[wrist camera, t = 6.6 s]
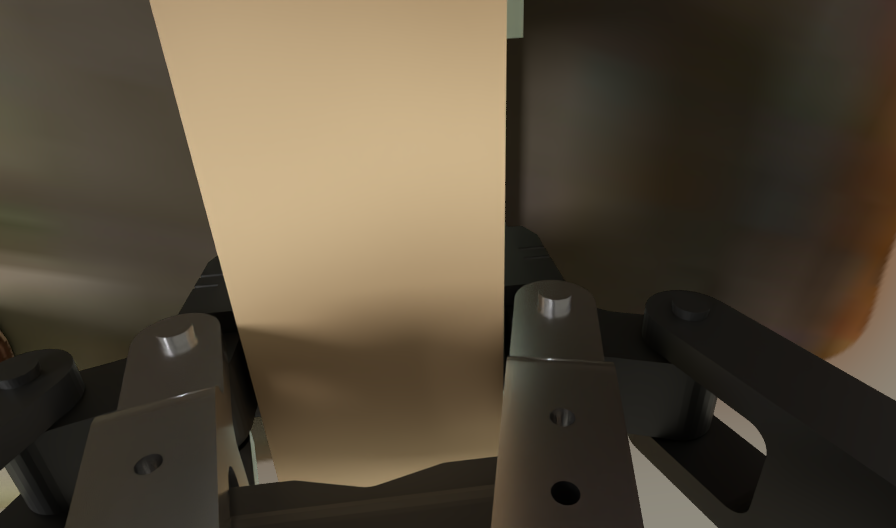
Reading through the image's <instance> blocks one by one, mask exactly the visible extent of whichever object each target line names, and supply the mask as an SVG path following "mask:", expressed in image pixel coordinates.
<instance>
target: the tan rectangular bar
mask: <svg viewBox="0 0 896 528" xmlns="http://www.w3.org/2000/svg"><path fill="white" fill-rule="evenodd" d="M150 4H151V8H152V11H153V15H154V19H155V23H156V26H157V30H158V34H159V38H160V41H161V45H162V49H163V52H164V56H165V60H166V64H167V67H168V71H169V75H170V79H171V82H172V86H173V90H174V93H175V97H176V101H177V105H178V108H179V112H180V116H181V119H182V123H183V127H184V131H185V134H186V138H187V142H188V146H189V149H190V153H191V157H192V160H193V164H194V168H195V172H196V175H197V179H198V183H199V186H200V190H201V194H202V198H203V201H204V205H205V209H206V213H207V216H208V220H209V224H210V227H211V231H212V235H213V239H214V242H215V246H216V250H217V254H218V257H219V261H220V265H221V268H222V272H223V276H224V280H225V283H226V287H227V291H228V294H229V298H230V302H231V306H232V309H233V313H234V317H235V321H236V324H237V328H238V332H239V335H240V339H241V343H242V347H243V350H244V354H245V358H246V361H247V365H248V369H249V373H250V376H251V380H252V384H253V388H254V391H255V395H256V399H257V402H258V406H259V410H260V414H261V417H262V421H263V425H264V429H265V432H266V436H267V440H268V443H269V447H270V451H271V455H272V458H273V462H274V466H275V469H276V473H277V477H278V481H279V482H284V481H292V480H297V481H307V482H317V483H327V484H337V485H347V486H357V487H371V486H376V485H379V484H382V483H385V482H388V481H391V480H394V479H397V478H400V477H403V476H406V475H409V474H411V473H414V472H417V471H420V470H423V469H426V468H429V467H432V466H435V465H438V464H441V463H445V462H453V461H461V460H470V459H478V458H487V457H495V456H498V447H499V437H500V426H501V415H502V404H503V350H504V248H505V146H506V44H507V0H150Z"/></svg>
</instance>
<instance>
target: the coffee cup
mask: <svg viewBox="0 0 896 528" xmlns="http://www.w3.org/2000/svg"><path fill="white" fill-rule="evenodd" d="M12 357H14V355H13V352H12V349H11V347H10V345H9V343H8V340H7V339H6V337H5V336H4V335H3V333H2V332H1V331H0V362H2V361H5V360H7V359H9V358H12Z"/></svg>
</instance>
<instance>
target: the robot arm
mask: <svg viewBox="0 0 896 528" xmlns="http://www.w3.org/2000/svg"><path fill="white" fill-rule="evenodd" d="M503 391H504V394H503V404H502V415H501V426H500V437H499V447H498V456H495V457H487V458H478V459H470V460H461V461H453V462H445V463H441V464H438V465H435V466H432V467H429V468H426V469H423V470H420V471H417V472H414V473H411V474H409V475H406V476H403V477H400V478H397V479H394V480H391V481H388V482H385V483H382V484H379V485H376V486H371V487H357V486H347V485H337V484H327V483H317V482H307V481H297V480H292V481H284V482H276V483H267V484H259V481H258V473H257V463H256V454H255V445H254V441H253V438H252V434H251V428H252V424H253V421H254V417H261V414H260V410H259V406H258V402H257V399H256V395H255V391H254V388H253V384H252V380H251V376H250V373H249V369H248V365H247V361H246V358H245V354H244V350H243V347H242V343H241V339H240V335H239V332H238V328H237V324H236V321H235V317H234V313H233V309H232V306H231V302H230V298H229V294H228V291H227V287H226V283H225V280H224V276H223V272H222V268H221V265H220V261H219V257H218V256H217V257H215V258H214V259H213V260H211V261H210V262H208V264H207V266H206V267H205V269H204V271H203V273H202V274H201V278H199V280H198V281H197V283H196V285H195V289H193V290H192V292H191V293H190V295H189V297H188V298H187V300H186V302H185V304H184V305H183V307H182V309H181V310H180V312H179V314H178V315H175V316H171V317H168V318H165V319H162V320H160V321H158V322H155V323H154V324H152V325H150V326H148V327H147V328H145V329H143V330H142V331H141V332H140V333H138V334H137V335H136V337H135V338H134V339H133V340H132V342H131V344H130V347H129V352H128V357H127V358H125V359H122V360H118V361H115V362H111V363H108V364H104V365H100V366H97V367H93V368H90V369H86V370H82V371H78V368H77V366H76V364H75V362H74V360H73V358H72V356H71V354H69V353H68V352H66V351H64V350H59V349H43V350H37V351H32V352H27V353H24V354H21V355H17V356H15V357H12V358H9V359H7V360H5V361H2V362H0V470H1V469H3V468H4V467H5V468H6V470H7V472H8V473H9V475H10V477H11V478H12V480H13V482H14V483H15V485H16V487H17V488H18V490H19V492H20V493H21V494H20V495H19V496H18V497H17V498H16V499H15V500H14V501H13V502H11V503H10V504H9V505H8V506H7V507H6V508H5V509H4V510H3V511H2V512H1V513H0V528H644V526H643V519H642V514H641V508H640V503H639V497H638V491H637V486H636V480H635V475H634V469H633V464H632V458H631V453H630V447H629V441H628V436H629V439H630V440H631V442H632V444H633V445H634V446H635V447H636V448H637V449H638V450H639V451H640V452H641V453H642V454H643V455H645V457H646V458H647V459H648V460H649V461H650V462H651V463H652V464H653V465H654V466H655V467H656V468H657V469H659V470H660V471H661V472H662V473H663V474H664V475H665V476H666V477H667V478H668V479H669V480H670V481H671V482H672V483H673V484H674V485H675V486H676V487H677V488H678V489H679V490H680V491H681V492H682V493H683V494H684V495H685V496H686V497H687V498H688V499H689V500H690V501H691V502H692V503H693V504H694V505H695V506H696V507H697V508H698V509H699V510H701V511H702V512H703V513H704V514H705V515H706V516H707V517H708V518H709V519H710V520H711V521H712V522H713V523H714V524H715V525H716V526H717V527H718V528H896V401H895V400H893V399H891V398H890V397H888V396H886V395H884V394H883V393H881V392H879V391H877V390H876V389H874V388H872V387H870V386H868V385H867V384H865V383H863V382H861V381H859V380H858V379H856V378H854V377H853V376H851V375H849V374H847V373H846V372H844V371H842V370H840V369H839V368H837V367H835V366H833V365H832V364H830V363H828V362H826V361H825V360H823V359H821V358H819V357H818V356H816V355H814V354H812V353H810V352H809V351H807V350H805V349H803V348H802V347H800V346H798V345H796V344H795V343H793V342H791V341H789V340H788V339H786V338H784V337H782V336H781V335H779V334H777V333H775V332H774V331H772V330H770V329H768V328H767V327H765V326H763V325H761V324H760V323H758V322H756V321H754V320H752V319H751V318H749V317H747V316H745V315H744V314H742V313H740V312H738V311H737V310H735V309H733V308H731V307H730V306H728V305H726V304H724V303H723V302H721V301H719V300H717V299H715V298H713V297H710V296H708V295H704V294H701V293H697V292H692V291H682V290H671V291H664V292H660V293H657V294H655V295H653V296H651V297H650V298H649V299H648V300H647V302H646V306H645V312H644V315H642V314H631V313H620V312H612V311H606V310H602V309H598V308H596V302H595V298H594V297H593V295H592V294H591V293H590V292H589V291H588V290H586V289H585V288H583V287H581V286H579V285H577V284H574V283H570V282H566V281H565V280H564V279H563V277H562V275H561V274H560V272H559V270H558V269H557V267H556V265H555V264H554V262H553V261H552V259H551V257H549V254H548V252H547V251H546V249H545V248H544V246H543V244H542V242H541V241H540V239H539V237H538V236H537V234H535V233H533V232H532V231H530V230H528V229H526V228H525V227H523V226H514V227H507V225H506V223H505V248H504V350H503ZM717 397H718V398H719V399H720V400H722V401H723V402H724V403H726V404H727V405H728V406H730V407H731V408H732V409H734V410H735V411H737V412H738V413H739V414H740V415H742V416H743V417H745V418H746V419H747V420H749V421H750V422H751V423H752V424H753V425H754V426H755V427H756V428H757V429H758V431H759V432H760V434H761V435H762V437H763V439H764V441H765V444H766V449H767V455H766V456H765V455H764V454H763V453H761V452H760V451H759V450H758V449H756V448H755V447H754V446H752V445H751V444H750V443H749V442H747V441H746V440H745V439H744V438H742V437H741V436H740V435H738V434H737V433H736V432H735V431H733V430H732V429H731V428H729V427H728V426H727V425H726V424H724V423H723V422H722V421H720V420H719V419H718V418H717V417H715V416H714V415H713V413H714V409H715V405H716V401H717ZM627 434H628V435H627Z"/></svg>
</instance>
